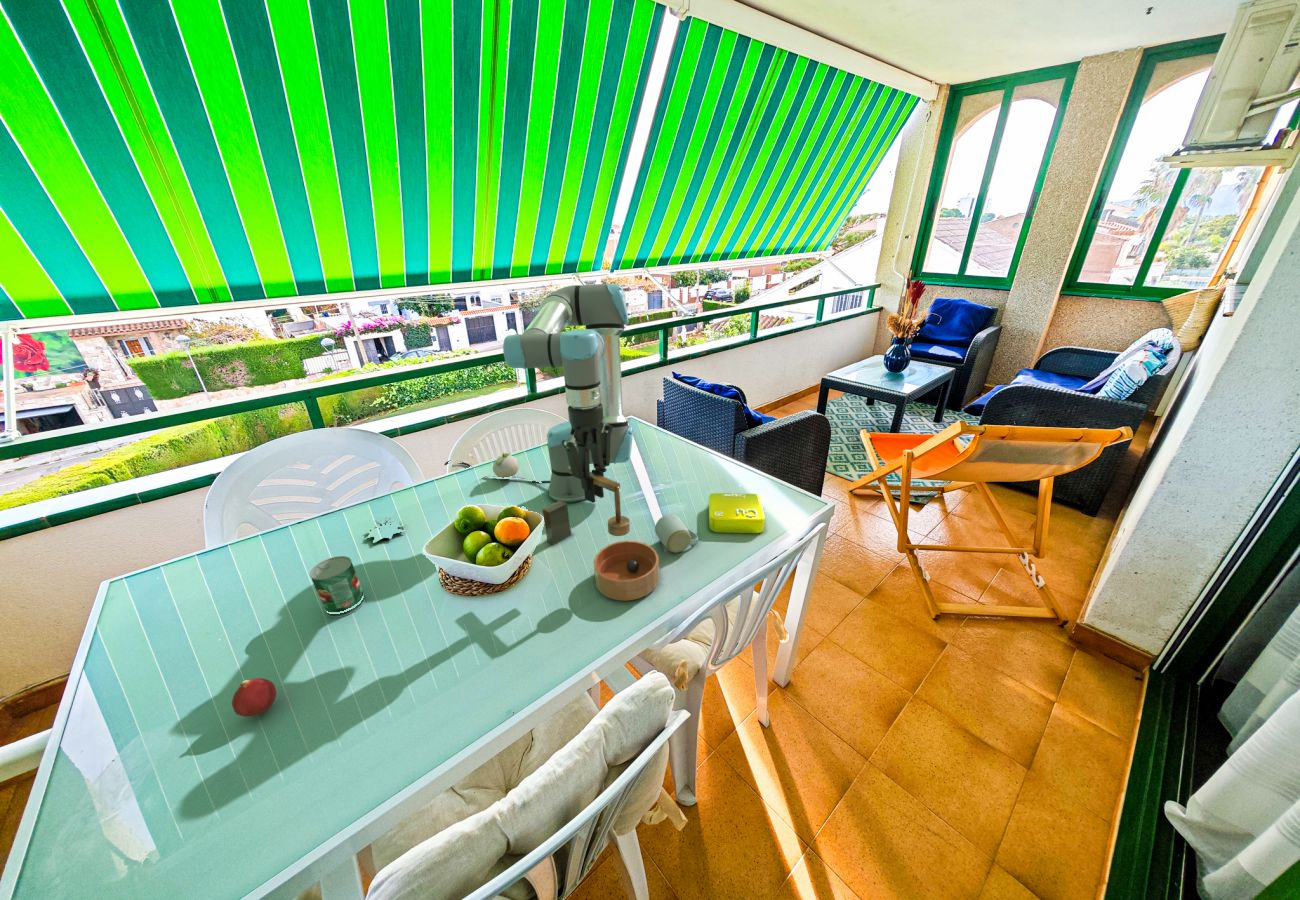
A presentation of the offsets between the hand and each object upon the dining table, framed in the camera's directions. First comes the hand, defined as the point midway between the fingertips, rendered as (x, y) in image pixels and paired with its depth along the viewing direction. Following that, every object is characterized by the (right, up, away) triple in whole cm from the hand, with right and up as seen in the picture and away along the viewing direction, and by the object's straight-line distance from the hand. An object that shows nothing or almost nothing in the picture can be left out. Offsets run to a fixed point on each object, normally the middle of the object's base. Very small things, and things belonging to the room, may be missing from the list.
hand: (594, 497), depth 109 cm
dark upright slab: (-12, -13, +18) cm, 26 cm away
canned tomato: (-57, -25, -3) cm, 62 cm away
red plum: (-56, -36, -27) cm, 72 cm away
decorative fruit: (-37, +1, +52) cm, 64 cm away
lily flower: (-63, -13, +24) cm, 69 cm away
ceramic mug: (+21, -14, +14) cm, 29 cm away
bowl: (+8, -20, +1) cm, 22 cm away
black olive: (+9, -17, +3) cm, 19 cm away
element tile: (+38, -9, +24) cm, 46 cm away
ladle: (+1, -6, +1) cm, 6 cm away
